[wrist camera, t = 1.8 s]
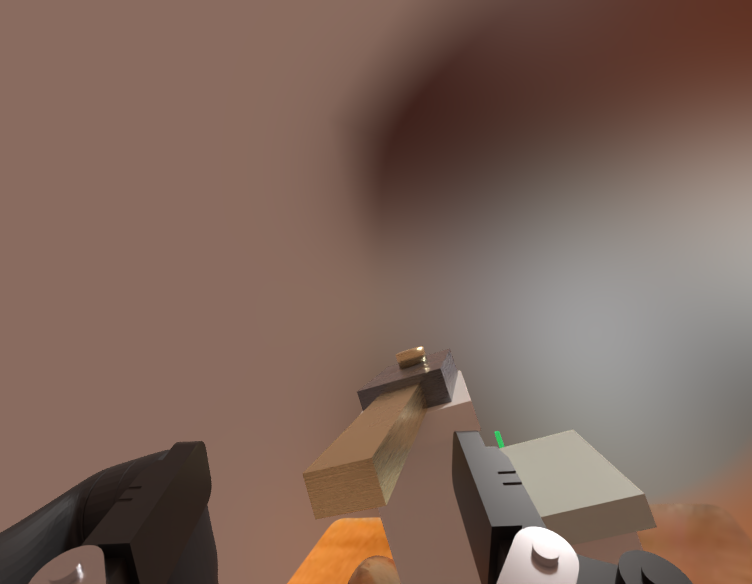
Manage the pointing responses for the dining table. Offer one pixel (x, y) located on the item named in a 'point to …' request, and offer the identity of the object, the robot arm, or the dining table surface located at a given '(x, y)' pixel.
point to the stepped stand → (538, 475)
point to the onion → (375, 572)
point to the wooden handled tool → (380, 434)
